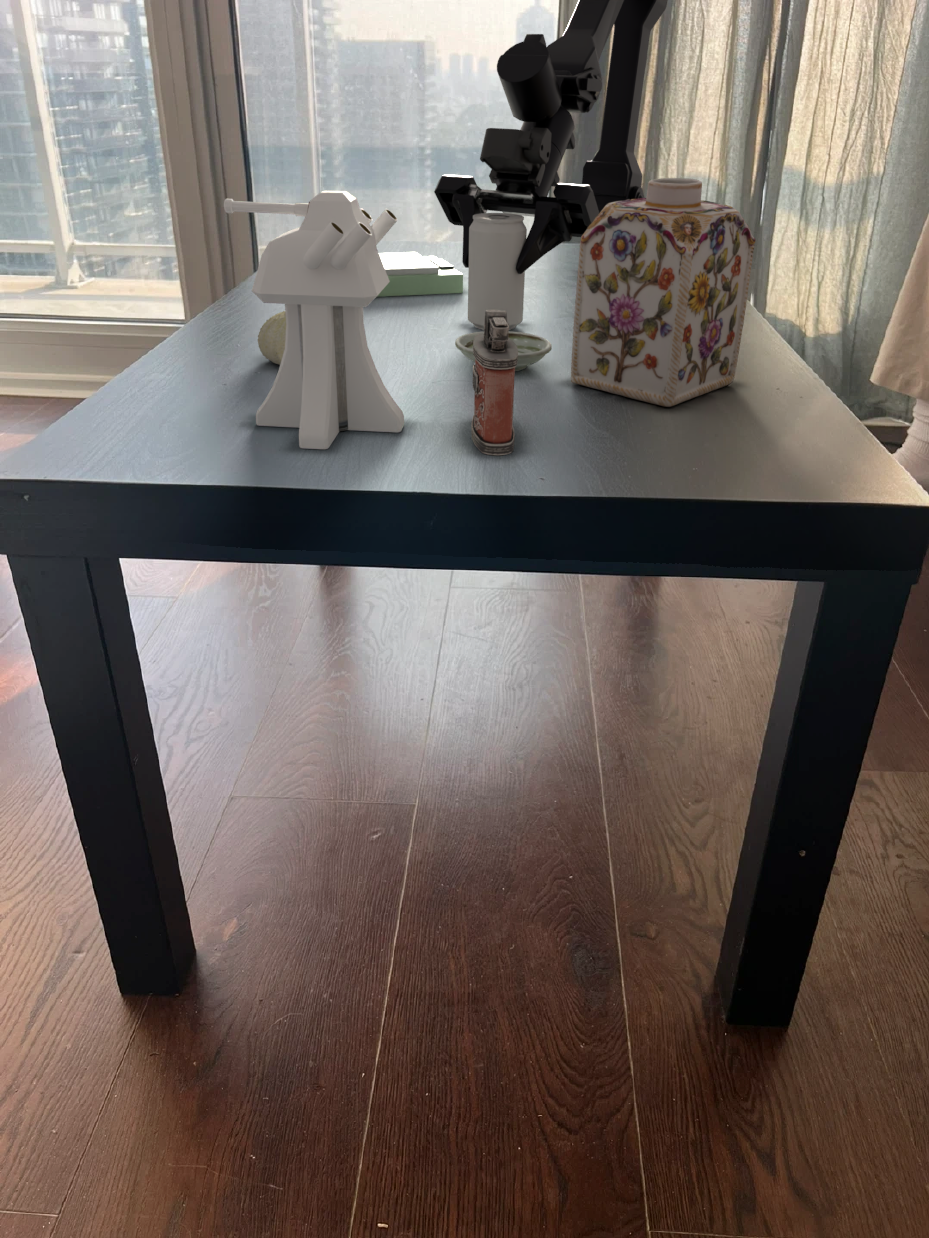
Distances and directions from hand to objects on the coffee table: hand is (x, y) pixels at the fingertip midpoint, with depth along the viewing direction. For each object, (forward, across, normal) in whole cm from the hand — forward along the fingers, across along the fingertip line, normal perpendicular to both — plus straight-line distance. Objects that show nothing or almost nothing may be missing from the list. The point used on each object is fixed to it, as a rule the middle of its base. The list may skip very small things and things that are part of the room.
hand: (491, 268), depth 109 cm
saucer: (+14, +8, -5) cm, 17 cm away
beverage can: (+4, 0, +6) cm, 7 cm away
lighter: (+28, +17, -19) cm, 38 cm away
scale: (-6, -23, +15) cm, 28 cm away
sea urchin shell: (+21, -10, -11) cm, 25 cm away
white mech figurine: (+32, +4, -22) cm, 39 cm away
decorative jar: (+13, +24, -4) cm, 27 cm away
